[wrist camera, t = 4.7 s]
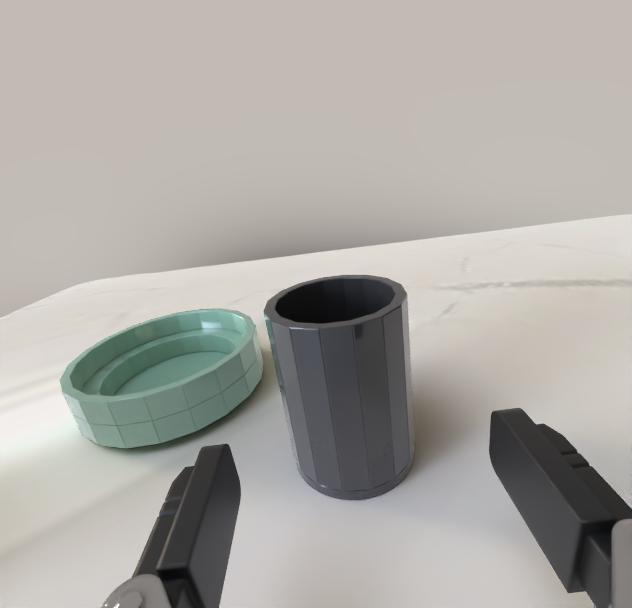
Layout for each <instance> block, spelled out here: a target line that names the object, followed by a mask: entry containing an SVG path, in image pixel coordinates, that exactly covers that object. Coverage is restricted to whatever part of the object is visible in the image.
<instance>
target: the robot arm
mask: <svg viewBox="0 0 632 608" xmlns="http://www.w3.org/2000/svg"><path fill="white" fill-rule="evenodd" d="M489 453H490V459H491V463H492V466H493V468H494V470H495V472H496V474H497V476H498V478H499V479H500V481H501V483H502V484H503V486H504V487H505V489H506V491H507V492H508V494H509V496H510V497H511V499H512V501H513V502H514V504H515V506H516V507H517V509H518V511H519V512H520V514H521V516H522V517H523V519H524V521H525V522H526V524H527V526H528V527H529V529H530V531H531V532H532V534H533V536H534V537H535V539H536V541H537V542H538V544H539V546H540V547H541V549H542V550H543V552H544V554H545V555H546V557H547V559H548V560H549V562H550V564H551V565H552V567H553V569H554V570H555V572H556V574H557V575H558V577H559V579H560V580H561V582H562V584H563V585H564V587H565V589H566V590H567V592H568V593H574V592H583V591H586V592H587V594H588V595H589V597H590V598H591V600H592V601H593V603H594V604H595V605H594V608H632V509H631V508H630V507H629V506H628V505H627V504H626V503H625V501H624V500H623V499H622V498H621V497H620V496H619V495H618V494H617V493H616V492H615V491H614V490H613V489H612V488H611V486H610V485H609V484H608V483H607V482H606V481H605V480H604V479H603V478H602V477H601V476H600V475H599V474H598V473H597V471H596V470H595V469H594V468H593V467H592V466H589V463H588V462H587V461H586V460H585V459H584V458H583V456H582V455H581V454H580V453H579V454H578V453H577V450H576V449H575V448H574V447H573V446H572V445H571V444H570V442H569V441H568V440H567V439H566V438H565V437H564V436H563V435H561V434H560V433H558V432H557V431H555V430H553V429H552V428H550V427H548V426H547V425H545V424H537V425H536V424H535V423H534V422H533V421H532V420H531V419H530V417H529V416H528V415H527V414H526V413H525V412H524V411H523V410H522V409H520V408H515V409H507V410H499V411H493V412H492V414H491V425H490V445H489ZM240 497H241V488H240V480H239V477H238V473H237V470H236V466H235V463H234V460H233V456H232V453H231V449H230V447H229V445H228V444H221V445H213V446H205V447H202V448H201V450H200V452H199V455H198V458H197V460H196V463H195V466H191V467H185V468H184V469H183V470H182V472H181V473H180V474H179V475H178V476H177V478H176V479H175V480H174V481H173V482H172V485H171V487H170V489H169V492H168V494H167V496H166V499H165V502H164V503H163V506H162V508H161V510H160V513H159V514H160V515H159V517H158V518H157V520H156V522H155V525H154V527H153V529H152V532H151V534H150V536H149V539H148V541H147V543H146V546H145V548H144V551H143V553H142V555H141V558H140V560H139V562H138V565H137V567H136V569H135V572H134V574H133V576H132V578H131V579H129V580H127V581H126V582H124V583H123V584H121V585H120V586H119V587H118V588H117V589H116V590H114V591H113V592H112V594H111V595H110V596H109V597H108V598H107V599H106V601H105V602H104V604H103V605H102V607H101V608H219V604H220V599H221V594H222V589H223V584H224V579H225V574H226V569H227V564H228V559H229V555H230V550H231V545H232V540H233V535H234V530H235V525H236V520H237V515H238V510H239V505H240Z"/></svg>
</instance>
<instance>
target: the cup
mask: <svg viewBox="0 0 632 608" xmlns="http://www.w3.org/2000/svg"><path fill="white" fill-rule="evenodd" d="M264 316H265V321H266V325H267V330H268V335H269V340H270V344H271V349H272V354H273V359H274V364H275V368H276V373H277V378H278V383H279V387H280V392H281V397H282V402H283V406H284V411H285V416H286V421H287V426H288V430H289V435H290V440H291V445H292V449H293V454H294V457H295V459H296V464H297V467H298V470H299V472H300V474H301V476H302V477H303V478H304V480H305V481H306V482H307V483H308V484H309V485H310V486H311V487H313V488H314V489H316V490H317V491H319V492H321V493H323V494H325V495H328V496H331V497H334V498H339V499H347V500H359V499H366V498H370V497H374V496H377V495H380V494H383V493H385V492H387V491H388V490H390V489H392V488H393V487H395V486H396V485H397V484H398V483H399V482H401V481H402V480H403V478H404V477H405V476H406V475H407V473H408V471H409V469H410V468H411V465H412V462H413V457H414V424H413V404H412V383H411V363H410V343H409V322H408V302H407V293H406V291H405V290H404V288H403V286H402V285H401V284H399V283H397V282H395V281H392V280H390V279H388V278H383V277H377V276H370V275H340V276H332V277H324V278H319V279H315V280H311V281H307V282H303V283H300V284H297V285H294V286H292V287H290V288H287V289H285V290H282V291H280V292H279V293H278V294H276V295H275V296H274V297H272V298H271V299H269V300H268V302H267V304H266V306H265V309H264Z"/></svg>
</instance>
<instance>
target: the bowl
mask: <svg viewBox="0 0 632 608" xmlns="http://www.w3.org/2000/svg"><path fill="white" fill-rule="evenodd" d="M263 365H264V362H263V358H262V353H261V349H260V345H259V340H258V335H257V331H256V326H255V324H254V323H253V321H252V319H251V317H249V316H247V315H245V314H243V313H241V312H239V311H234V310H227V309H199V310H192V311H186V312H179V313H175V314H171V315H167V316H163V317H159V318H155V319H152V320H149V321H146V322H143V323H140V324H137V325H134V326H131V327H130V328H127V329H124V330H122V331H120V332H118V333H116V334H114V335H111V336H109V337H107V338H105V339H103V340H102V341H100V342H98V343H97V344H95V345H94V346H92V347H90V348H89V349H87V350H85V351H84V352H83V353H82V354H80V355H79V356H78V357H77V358H76V359H75V360H74V361H72V362H71V363H70V364H69V365H68V366H67V368H66V370H65V371H64V373H63V375H62V377H61V378H60V384H61V389H62V393H63V395H64V397H65V399H66V401H67V403H68V405H69V408H70V410H71V412H72V413H73V416H74V418H75V420H76V422H77V424H78V426H79V428H80V431H81V433H82V435H83V436H85V437H86V438H88V439H89V440H91V441H93V442H94V443H96V444H98V445H100V446H108V447H118V448H133V447H139V446H146V445H153V444H160V443H164V442H167V441H170V440H173V439H175V438H178V437H181V436H184V435H187V434H190V433H193V432H196V431H198V430H200V429H202V428H203V427H205V426H207V425H209V424H211V423H212V422H214V421H216V420H218V419H220V418H221V417H223V416H225V415H227V413H229V412H230V411H232V410H233V409H234V408H235V407H236V406H238V405H239V404H240V403H241V402H242V401H244V400H245V399H246V398H247V397H248V396H249V395H250V394H251V393H252V391H253V390H254V388H255V387H256V385H257V384H258V382H259V381H260V380H261V378H262V372H263Z"/></svg>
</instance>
